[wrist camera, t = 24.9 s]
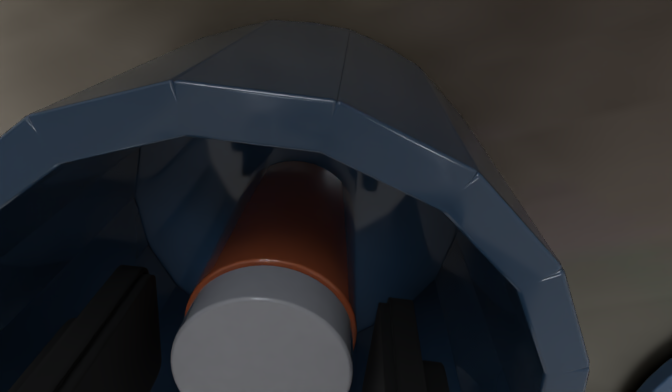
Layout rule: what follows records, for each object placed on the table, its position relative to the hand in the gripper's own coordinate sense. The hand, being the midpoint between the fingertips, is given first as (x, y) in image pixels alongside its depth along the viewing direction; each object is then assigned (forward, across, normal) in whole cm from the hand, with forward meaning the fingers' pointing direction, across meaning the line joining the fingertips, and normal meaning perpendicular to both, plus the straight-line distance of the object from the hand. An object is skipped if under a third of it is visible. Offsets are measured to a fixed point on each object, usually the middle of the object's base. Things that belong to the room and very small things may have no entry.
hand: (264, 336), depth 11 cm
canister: (+6, 0, 0) cm, 6 cm away
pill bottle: (+6, 0, 0) cm, 6 cm away
